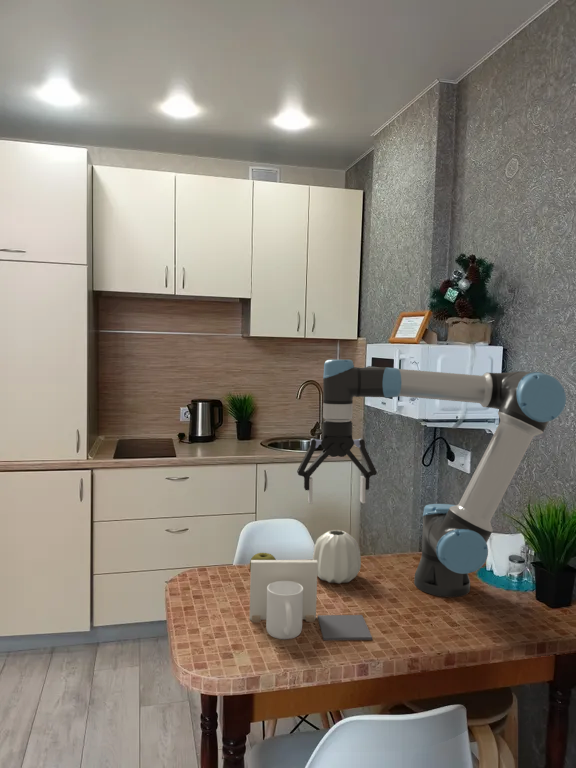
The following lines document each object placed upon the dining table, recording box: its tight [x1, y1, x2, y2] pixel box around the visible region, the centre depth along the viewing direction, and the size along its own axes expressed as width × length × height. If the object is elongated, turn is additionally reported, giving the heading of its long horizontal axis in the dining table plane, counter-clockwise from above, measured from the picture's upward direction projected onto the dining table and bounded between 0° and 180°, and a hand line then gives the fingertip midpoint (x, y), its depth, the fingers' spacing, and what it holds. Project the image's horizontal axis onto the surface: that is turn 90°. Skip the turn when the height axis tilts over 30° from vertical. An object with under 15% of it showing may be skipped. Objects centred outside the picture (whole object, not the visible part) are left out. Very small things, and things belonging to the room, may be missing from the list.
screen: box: [249, 559, 318, 623], centre depth 137 cm, size 16×4×14 cm, turn 94°
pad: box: [317, 614, 373, 641], centre depth 133 cm, size 11×11×1 cm
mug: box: [265, 581, 303, 640], centre depth 129 cm, size 12×8×10 cm
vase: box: [312, 529, 362, 584], centre depth 163 cm, size 14×14×13 cm
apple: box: [249, 552, 277, 572], centre depth 161 cm, size 8×8×7 cm
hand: (336, 502), depth 146 cm, fingers open, 13 cm apart
